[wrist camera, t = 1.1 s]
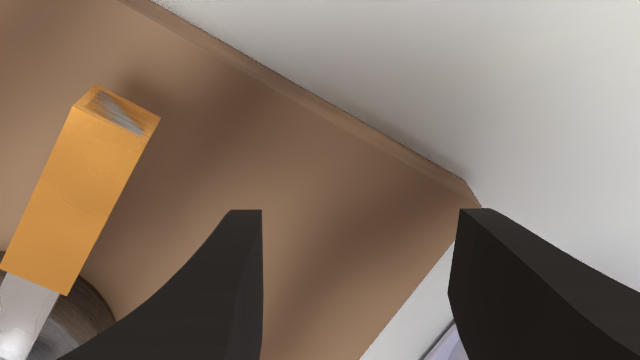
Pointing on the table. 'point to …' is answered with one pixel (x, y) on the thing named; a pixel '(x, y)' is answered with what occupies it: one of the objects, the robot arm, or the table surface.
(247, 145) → the bench block
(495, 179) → the table surface
